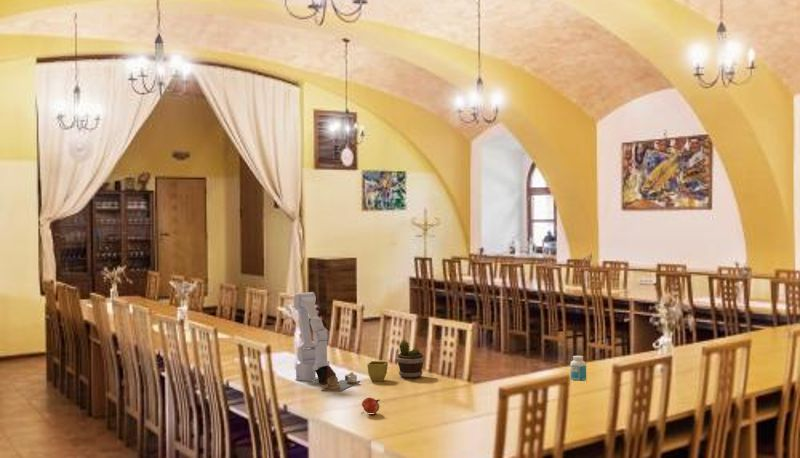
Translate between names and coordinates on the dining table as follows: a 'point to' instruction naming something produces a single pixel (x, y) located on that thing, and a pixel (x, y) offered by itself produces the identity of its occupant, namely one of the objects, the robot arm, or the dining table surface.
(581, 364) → the pill bottle
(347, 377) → the clutch plate
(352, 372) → the hub
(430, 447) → the dining table surface
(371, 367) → the flower pot
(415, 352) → the flowerpot
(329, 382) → the tan rock
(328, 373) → the poop emoji
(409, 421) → the dining table surface
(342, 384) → the mat
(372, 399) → the pomegranate
